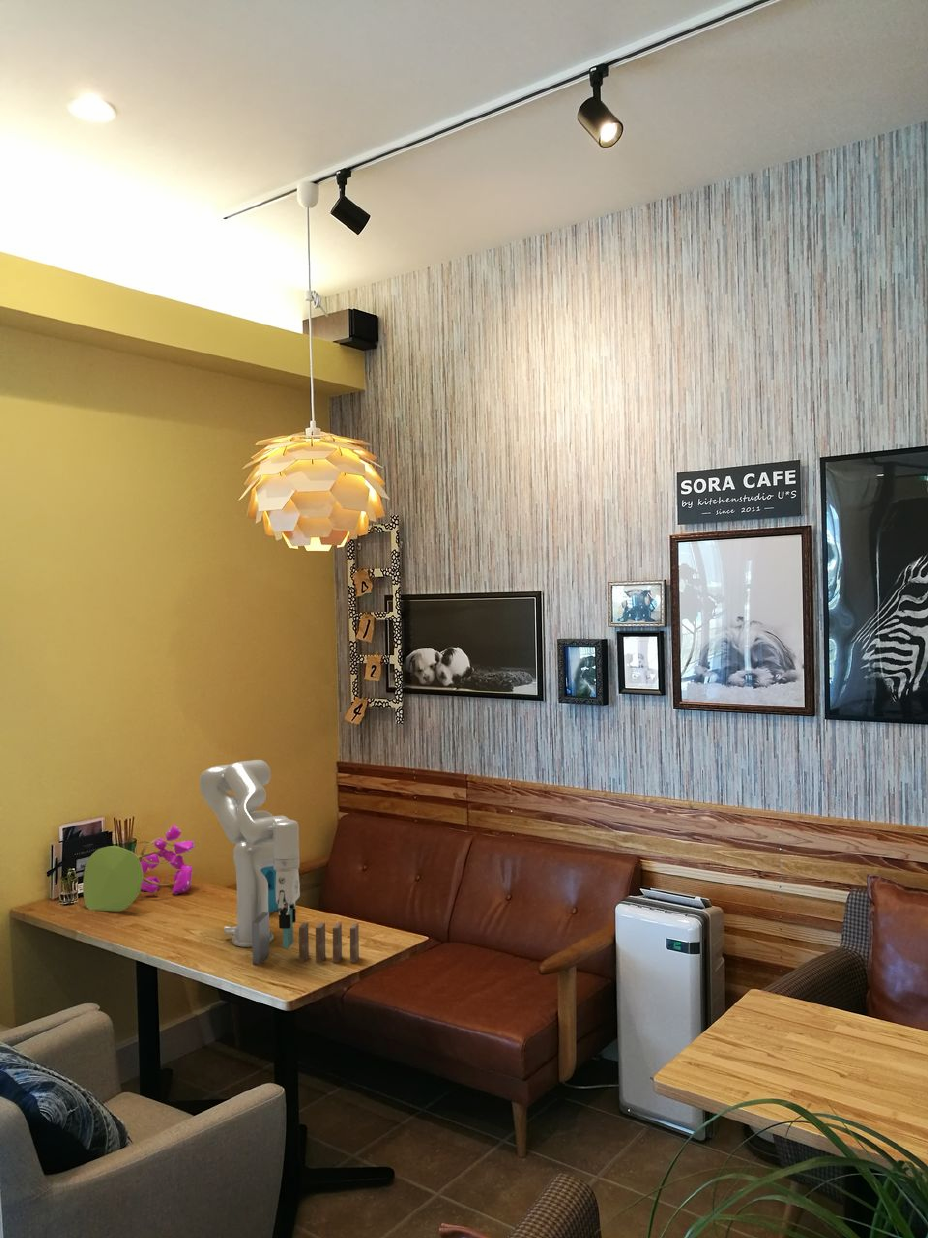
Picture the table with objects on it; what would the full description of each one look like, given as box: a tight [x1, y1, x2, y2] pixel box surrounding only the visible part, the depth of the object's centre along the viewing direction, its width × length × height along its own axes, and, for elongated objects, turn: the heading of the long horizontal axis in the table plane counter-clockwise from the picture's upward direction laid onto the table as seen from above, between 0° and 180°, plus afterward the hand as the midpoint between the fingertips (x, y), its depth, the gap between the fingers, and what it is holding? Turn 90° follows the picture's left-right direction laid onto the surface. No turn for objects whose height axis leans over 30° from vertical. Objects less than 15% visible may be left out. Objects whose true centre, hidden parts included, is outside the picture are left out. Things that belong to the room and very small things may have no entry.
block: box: [260, 866, 279, 914], centre depth 326 cm, size 12×5×20 cm, turn 140°
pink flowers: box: [82, 825, 196, 913], centre depth 345 cm, size 30×28×35 cm
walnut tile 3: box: [315, 921, 326, 963], centre depth 279 cm, size 2×5×10 cm, turn 175°
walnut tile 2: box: [332, 922, 343, 964], centre depth 278 cm, size 2×5×10 cm, turn 175°
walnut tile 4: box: [298, 921, 310, 963], centre depth 279 cm, size 2×5×10 cm, turn 175°
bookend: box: [252, 912, 271, 965], centre depth 280 cm, size 2×10×12 cm, turn 175°
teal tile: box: [282, 908, 294, 949], centre depth 279 cm, size 2×5×10 cm, turn 175°
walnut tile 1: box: [349, 922, 360, 964], centre depth 278 cm, size 2×5×10 cm, turn 175°
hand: (287, 924), depth 279 cm, fingers closed on teal tile, 4 cm apart
